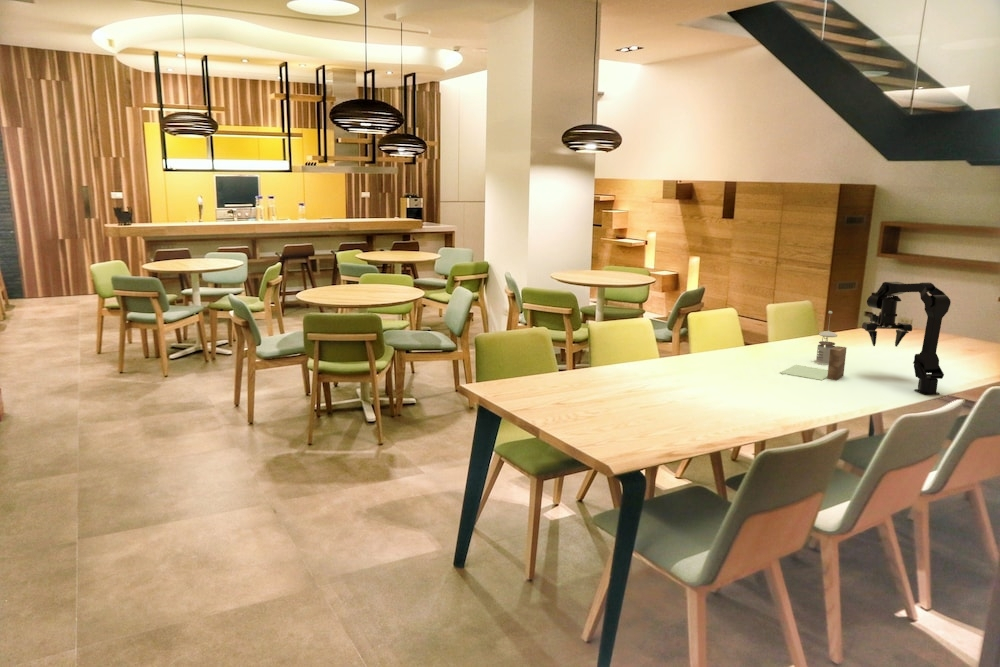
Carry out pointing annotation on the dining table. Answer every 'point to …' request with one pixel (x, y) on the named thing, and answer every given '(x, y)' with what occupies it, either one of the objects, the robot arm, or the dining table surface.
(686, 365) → the dining table surface
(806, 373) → the mat
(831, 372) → the slab
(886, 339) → the dining table surface
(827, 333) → the french press
